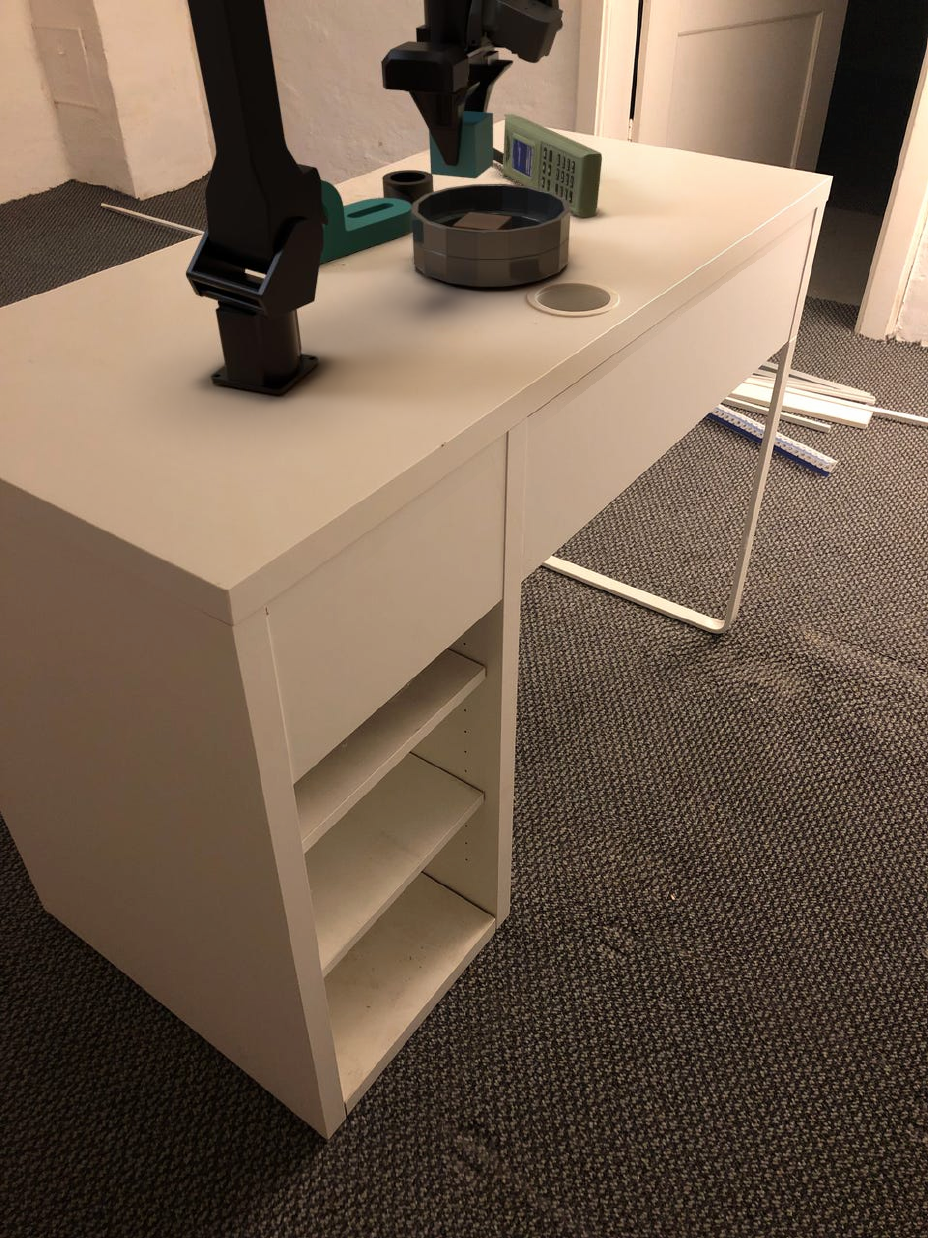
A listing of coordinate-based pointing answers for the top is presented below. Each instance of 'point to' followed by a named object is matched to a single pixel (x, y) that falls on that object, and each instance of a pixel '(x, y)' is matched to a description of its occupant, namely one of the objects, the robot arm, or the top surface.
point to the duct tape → (407, 185)
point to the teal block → (468, 148)
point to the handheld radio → (551, 163)
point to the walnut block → (484, 222)
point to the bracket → (361, 223)
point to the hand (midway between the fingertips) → (461, 157)
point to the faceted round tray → (491, 235)
